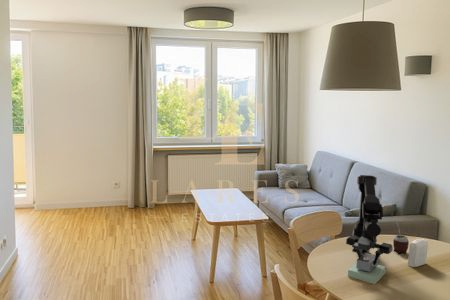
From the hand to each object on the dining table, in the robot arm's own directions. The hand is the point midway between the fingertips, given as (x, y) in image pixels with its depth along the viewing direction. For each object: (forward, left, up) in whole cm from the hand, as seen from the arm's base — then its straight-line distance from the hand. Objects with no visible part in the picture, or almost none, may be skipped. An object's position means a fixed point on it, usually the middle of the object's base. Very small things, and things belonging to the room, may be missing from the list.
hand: (367, 262), depth 193 cm
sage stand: (0, 0, -6) cm, 6 cm away
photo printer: (+15, +26, -6) cm, 31 cm away
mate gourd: (+4, +37, -6) cm, 38 cm away
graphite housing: (0, 0, -2) cm, 2 cm away
